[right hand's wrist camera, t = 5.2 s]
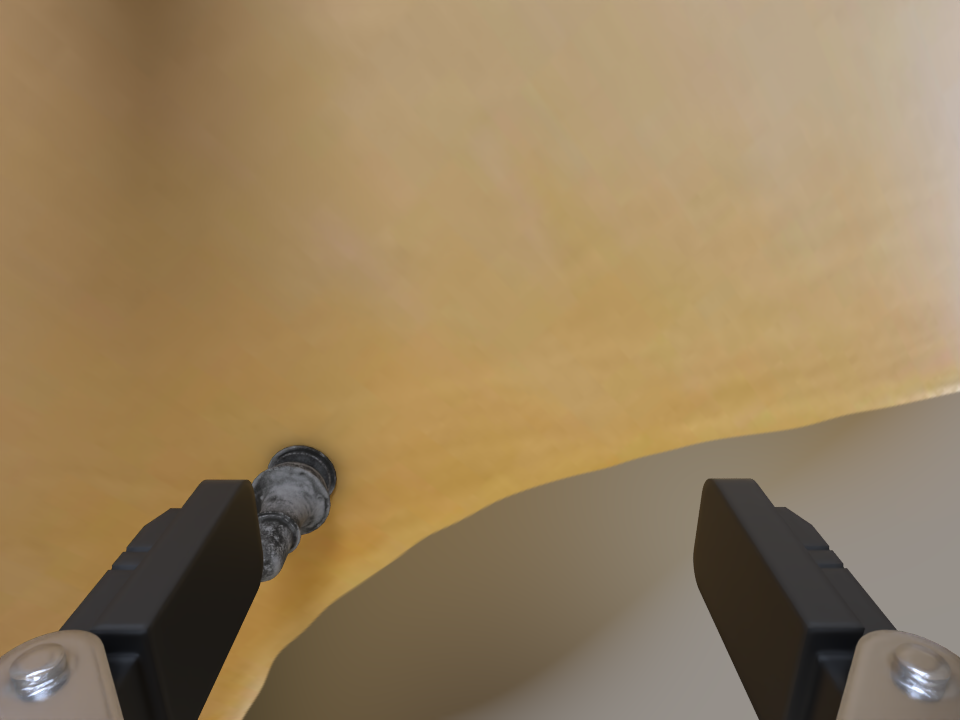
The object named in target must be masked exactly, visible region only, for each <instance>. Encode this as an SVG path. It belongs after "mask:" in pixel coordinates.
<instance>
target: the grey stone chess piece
mask: <svg viewBox="0 0 960 720" xmlns="http://www.w3.org/2000/svg"><path fill="white" fill-rule="evenodd" d="M335 484H336V472H335V469H334V467H333V464H332V463H331V462H330V460H329V459H328V458H327V457H326V456H325V455H324V454H322V453H321V452H320V451H318V450H316V449H313V448H311V447H306V446H291V447H287V448H284V449H283V450H281V451H279V452H278V453H277V454H276V455H275V456H274V457H273V458H272V459H271V461H270V463H269V465H268V469H267V470H265V471H264V472H262V473H260V474H259V475H258V476H257V477H256V478H255V479H254V481H253V483H252V486H253V489H254V494H255V501H256V507H257V514H258V521H259V528H260V535H261V542H262V548H263V572H262V578H261V582H264V581H268V580H271V579H273V578H274V577H275V576H276V575H277V574H278V573H279V572H280V570H281V569H282V567H283V564H284V562H285V560H286V557H287V555H288V554H289V553H291V552H292V551H293V550H294V549H295V548H296V547H297V546H298V544H299V542H300V538H301V535H303V534H307V533H310V532H312V531H314V530H316V529H318V528H319V527H320V526H321V525H322V524H323V523H324V522H325V520H326V518H327V516H328V515H329V510H330V495H331V493H332V491H333V490H334V488H335Z"/></svg>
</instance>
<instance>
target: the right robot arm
mask: <svg viewBox="0 0 960 720" xmlns="http://www.w3.org/2000/svg"><path fill="white" fill-rule="evenodd" d="M693 563H694V573H695V578H696V582H697V585H698V588H699V590H700V593H701V595H702V597H703V599H704V601H705V603H706V606H707V608H708V610H709V612H710V614H711V616H712V619H713V621H714V623H715V625H716V627H717V629H718V632H719V634H720V636H721V638H722V640H723V642H724V644H725V647H726V649H727V651H728V653H729V655H730V658H731V660H732V662H733V664H734V666H735V668H736V671H737V673H738V675H739V677H740V679H741V682H742V684H743V686H744V688H745V690H746V692H747V695H748V697H749V699H750V701H751V703H752V705H753V708H754V710H755V712H756V714H757V716H758V718H759V720H960V658H959V657H958V656H957V655H956V654H954V653H953V652H951V651H949V650H948V649H946V648H945V647H943V646H941V645H939V644H937V643H935V642H933V641H931V640H928V639H926V638H924V637H921V636H918V635H915V634H911V633H907V632H903V631H897V630H896V628H895V627H894V626H893V625H892V623H891V622H890V621H889V620H888V618H887V617H886V616H885V615H884V614H883V612H882V611H881V610H880V609H879V607H878V606H877V605H876V604H875V602H874V601H873V600H872V599H871V597H870V596H869V595H868V594H867V593H866V591H865V590H864V589H863V588H862V586H861V585H860V584H859V583H858V581H857V580H856V579H855V578H854V576H853V575H852V574H851V573H850V571H849V570H848V569H847V568H844V567H843V563H842V562H841V560H840V559H839V558H838V557H837V555H836V554H835V553H834V552H833V551H832V550H829V545H828V544H827V543H826V542H825V541H824V539H823V538H822V537H821V536H820V534H819V533H818V532H817V531H816V529H815V528H814V527H813V526H812V525H811V524H810V523H808V522H807V521H805V520H804V519H802V518H801V517H799V516H798V515H796V514H795V513H793V512H792V511H790V510H789V509H787V508H786V507H774V505H773V504H772V503H771V502H770V500H769V499H768V498H767V496H766V495H765V493H764V492H763V491H762V489H761V488H760V487H759V485H758V484H757V483H756V482H755V481H754V480H753V479H708V480H706V482H705V484H704V486H703V491H702V497H701V504H700V511H699V518H698V525H697V531H696V539H695V545H694V554H693ZM262 572H263V548H262V542H261V535H260V528H259V521H258V514H257V507H256V501H255V494H254V489H253V486H252V484H251V482H250V481H249V480H204V481H202V482H201V483H200V484H199V486H198V487H197V488H196V490H195V491H194V492H193V494H192V495H191V496H190V497H189V499H188V500H187V501H186V503H185V504H184V505H183V507H182V508H170V509H169V510H168V511H166V512H165V513H163V514H162V515H160V516H159V517H157V518H156V519H154V520H153V521H151V522H150V523H148V524H147V525H145V526H144V527H143V528H142V529H141V531H140V532H139V533H138V534H137V535H136V537H135V538H134V539H133V540H132V542H131V543H130V544H129V545H128V546H127V550H126V552H123V553H122V554H121V555H120V556H119V558H118V559H117V560H116V561H115V562H114V564H113V565H112V570H108V571H107V572H106V573H105V575H104V576H103V577H102V578H101V580H100V581H99V582H98V583H97V585H96V586H95V587H94V588H93V589H92V591H91V592H90V593H89V594H88V596H87V597H86V598H85V599H84V600H83V602H82V603H81V604H80V605H79V607H78V608H77V609H76V610H75V611H74V613H73V614H72V615H71V616H70V618H69V619H68V620H67V621H66V623H65V624H64V625H63V626H62V627H61V629H60V630H59V631H57V632H53V633H49V634H45V635H42V636H39V637H36V638H34V639H32V640H29V641H27V642H25V643H23V644H21V645H19V646H17V647H15V648H14V649H12V650H11V651H9V652H7V653H6V654H4V655H3V656H2V657H0V720H198V717H199V715H200V713H201V711H202V709H203V707H204V705H205V703H206V700H207V698H208V696H209V694H210V692H211V690H212V688H213V685H214V683H215V681H216V679H217V677H218V675H219V673H220V670H221V668H222V666H223V664H224V662H225V660H226V658H227V655H228V653H229V651H230V649H231V647H232V645H233V643H234V640H235V638H236V636H237V634H238V632H239V630H240V628H241V625H242V623H243V621H244V619H245V617H246V615H247V613H248V610H249V608H250V606H251V604H252V602H253V600H254V598H255V595H256V593H257V591H258V589H259V586H260V582H261V578H262Z"/></svg>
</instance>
